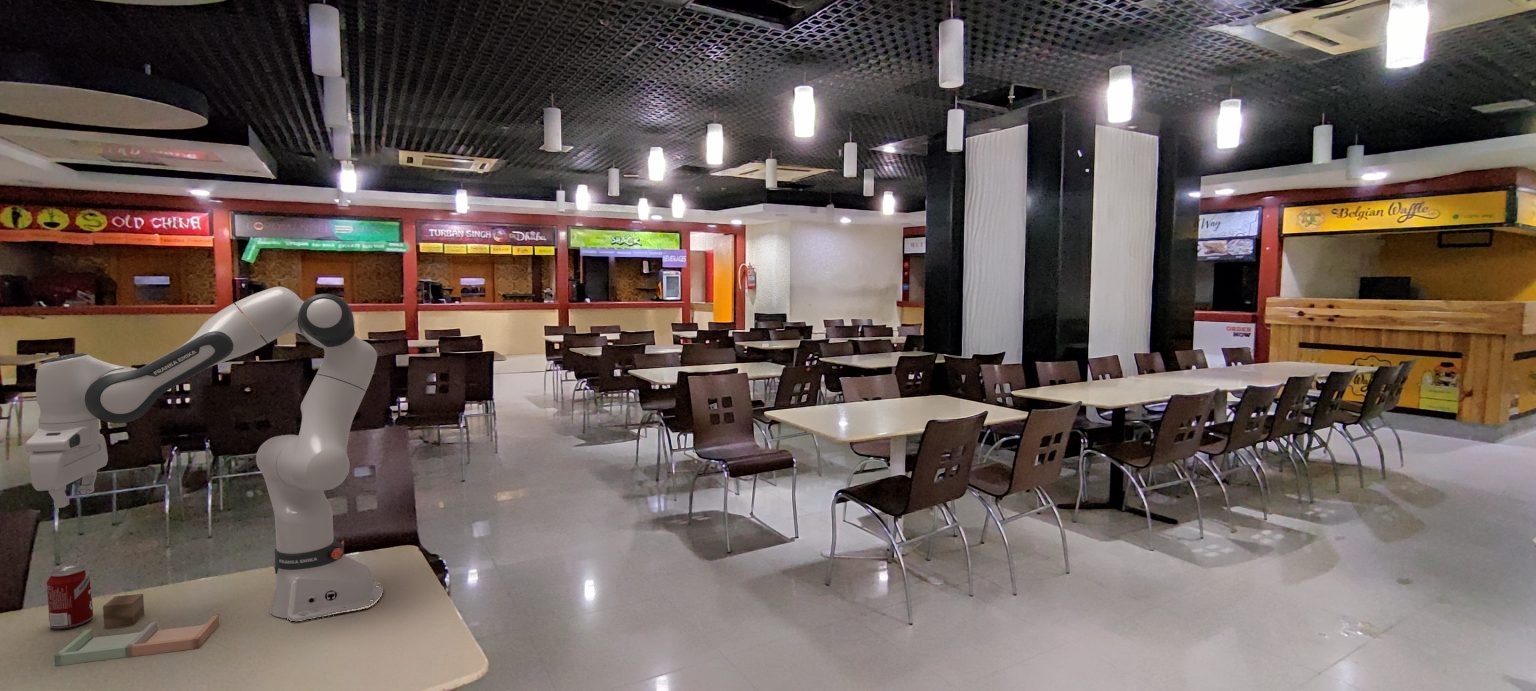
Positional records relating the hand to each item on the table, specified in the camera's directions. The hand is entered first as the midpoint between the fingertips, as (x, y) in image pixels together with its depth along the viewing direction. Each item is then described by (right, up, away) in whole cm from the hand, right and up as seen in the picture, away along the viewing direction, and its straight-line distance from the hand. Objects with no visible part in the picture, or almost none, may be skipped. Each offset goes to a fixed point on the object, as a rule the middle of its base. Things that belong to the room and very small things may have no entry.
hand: (75, 499), depth 149 cm
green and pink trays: (+14, -29, 0) cm, 33 cm away
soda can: (-7, -29, +7) cm, 30 cm away
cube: (+3, -28, +9) cm, 30 cm away
